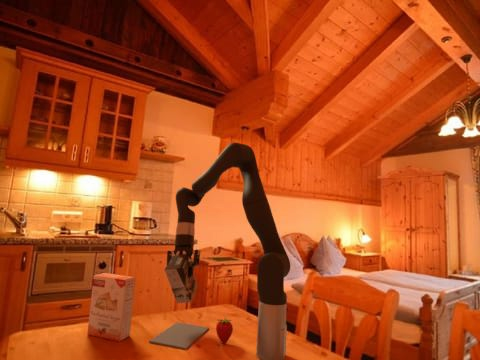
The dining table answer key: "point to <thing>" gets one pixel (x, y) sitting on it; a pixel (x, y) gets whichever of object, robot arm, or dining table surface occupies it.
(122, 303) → the cracker box
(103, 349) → the dining table surface
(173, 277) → the coffee box
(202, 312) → the dining table surface
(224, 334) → the strawberry
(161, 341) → the slate mat
